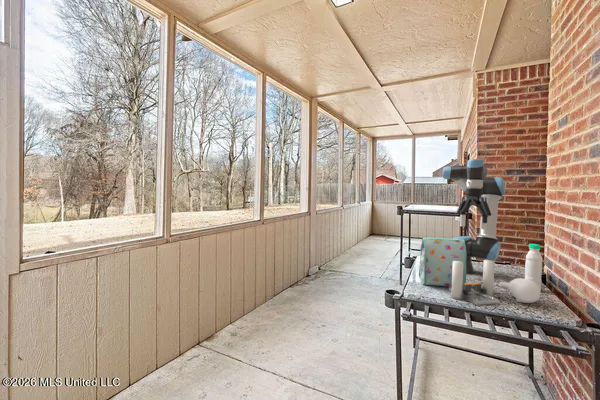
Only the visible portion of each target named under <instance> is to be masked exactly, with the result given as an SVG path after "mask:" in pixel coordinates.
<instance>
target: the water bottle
mask: <svg viewBox="0 0 600 400" xmlns="http://www.w3.org/2000/svg"><path fill="white" fill-rule="evenodd" d="M528 249H529V251H528V252H527V253H526V255H525V267H524V268H525V269H524V274H525V275H524V279H527V280H530V281H532V282H534V283H535V284H536V285H537V286H538V287H539V289H540V292H541V291H542V273H543V260H544V259H543V257H542V254H541V252H540V250H541V245H540V244H538V243H537V244H536V243H529V244H528Z"/></svg>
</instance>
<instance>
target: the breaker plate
mask: <svg viewBox="0 0 600 400" xmlns="http://www.w3.org/2000/svg"><path fill="white" fill-rule="evenodd" d="M451 291H452V287H448V292H450V293H451ZM462 297H463V299H464V300H465V301H468V302H470V303H472V304H474V305H476V306H483V305H496V304H498V305H499V303H500V302H499V298H497V297H495V296H494V297H492V296H490V295H487V294H486V290H484V289H482V287H481V292H476V291H474V287H471V292H468V291H467V290H464V287H462Z"/></svg>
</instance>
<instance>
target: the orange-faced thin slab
mask: <svg viewBox="0 0 600 400" xmlns="http://www.w3.org/2000/svg"><path fill="white" fill-rule="evenodd" d="M472 286H473V288H474V291H476V292H481V288H482V283H481V282H466V283H464V290H467V291H468V292H471V288H472Z"/></svg>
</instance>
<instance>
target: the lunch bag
mask: <svg viewBox="0 0 600 400" xmlns="http://www.w3.org/2000/svg"><path fill="white" fill-rule="evenodd" d="M453 261H461V262H463V284H462V287H464V283H467V274H466V246H465V241H464V239H458V238H454V239H452V238H448V237H447V238H446V237H422V239H421V245H420V258H419V265H418V266H419V267H418V278H419V279H420V281H421V283H422V285H426V286H435V287H436V286H437V287H445V288H449V287H452V265H453Z"/></svg>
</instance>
